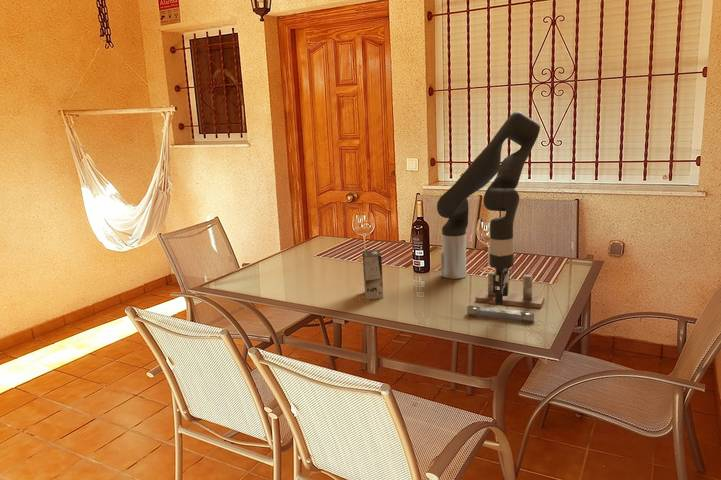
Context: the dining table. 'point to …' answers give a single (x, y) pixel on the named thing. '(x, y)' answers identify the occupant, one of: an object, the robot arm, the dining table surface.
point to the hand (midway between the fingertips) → (501, 300)
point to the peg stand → (512, 294)
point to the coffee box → (372, 274)
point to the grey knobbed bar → (500, 314)
